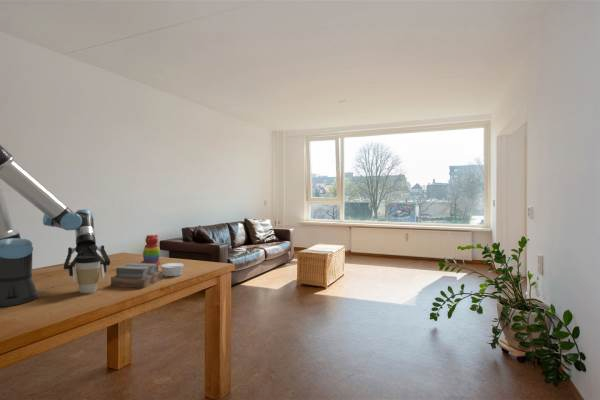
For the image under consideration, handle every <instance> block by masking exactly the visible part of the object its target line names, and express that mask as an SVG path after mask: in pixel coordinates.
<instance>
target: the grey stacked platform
mask: <svg viewBox="0 0 600 400" xmlns="http://www.w3.org/2000/svg"><path fill="white" fill-rule="evenodd" d="M115 269H116V270H115V271H116V273H115V274H116V275H114V276H111V277H110V287H121V288H134V287H136V288H137V289H144V288H147V287H149V286H151V285H153V284H156V283H157V281H158V282H159V280H160V281H161V279H162V280H163V276H164V275H163V271H162V270H159V265H158V264H153V263H140V262H131V263H128V264H125V265H122V266H119V267H115ZM155 282H156V283H155ZM136 288H135V289H136Z"/></svg>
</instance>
